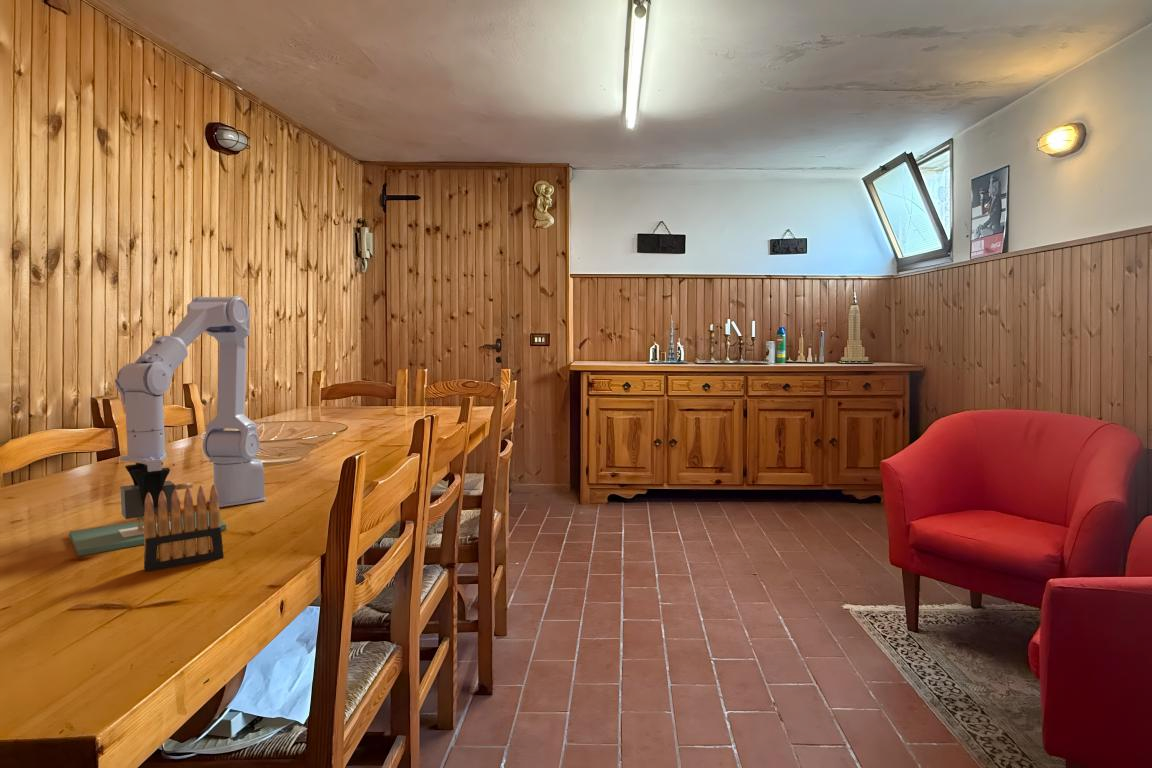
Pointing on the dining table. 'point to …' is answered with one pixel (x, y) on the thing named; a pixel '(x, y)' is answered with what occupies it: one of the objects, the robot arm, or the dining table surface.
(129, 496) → the block
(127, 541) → the board
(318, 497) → the dining table surface
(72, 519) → the dining table surface
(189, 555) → the ammunition clip
